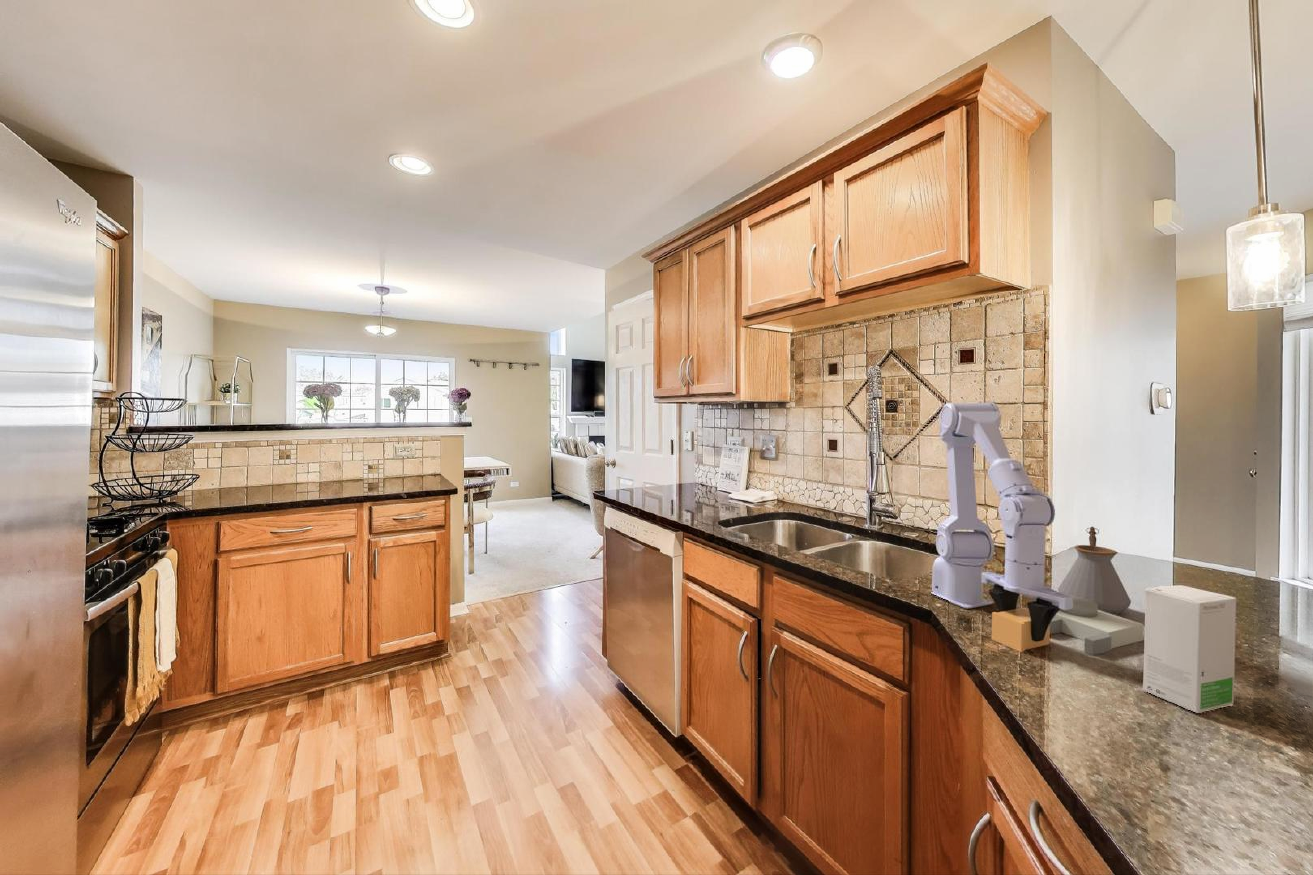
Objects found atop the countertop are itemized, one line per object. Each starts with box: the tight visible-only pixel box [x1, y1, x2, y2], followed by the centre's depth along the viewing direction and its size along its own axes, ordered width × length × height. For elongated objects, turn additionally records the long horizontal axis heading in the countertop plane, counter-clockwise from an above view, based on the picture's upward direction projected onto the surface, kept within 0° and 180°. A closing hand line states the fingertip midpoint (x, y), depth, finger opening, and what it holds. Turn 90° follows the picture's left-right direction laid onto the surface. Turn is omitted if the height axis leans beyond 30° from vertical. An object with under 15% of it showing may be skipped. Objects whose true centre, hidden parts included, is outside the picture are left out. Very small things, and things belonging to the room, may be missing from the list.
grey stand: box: [1049, 595, 1144, 656], centre depth 91 cm, size 13×15×5 cm
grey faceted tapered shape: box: [1057, 526, 1132, 616], centre depth 106 cm, size 21×12×15 cm, turn 139°
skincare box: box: [1142, 584, 1237, 714], centre depth 69 cm, size 8×7×16 cm
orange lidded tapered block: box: [991, 607, 1050, 653], centre depth 87 cm, size 5×8×5 cm
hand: (1022, 634), depth 87 cm, fingers closed on orange lidded tapered block, 4 cm apart
